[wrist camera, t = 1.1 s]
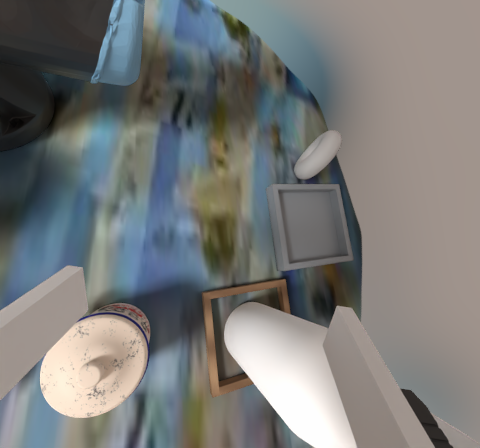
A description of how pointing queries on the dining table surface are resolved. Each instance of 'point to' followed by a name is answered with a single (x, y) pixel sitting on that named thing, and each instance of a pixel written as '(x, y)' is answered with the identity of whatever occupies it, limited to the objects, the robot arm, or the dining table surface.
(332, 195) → the tray
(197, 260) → the dining table surface
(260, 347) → the alcohol
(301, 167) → the donut
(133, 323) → the teacup with lid
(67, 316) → the robot arm
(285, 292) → the square wooden frame
